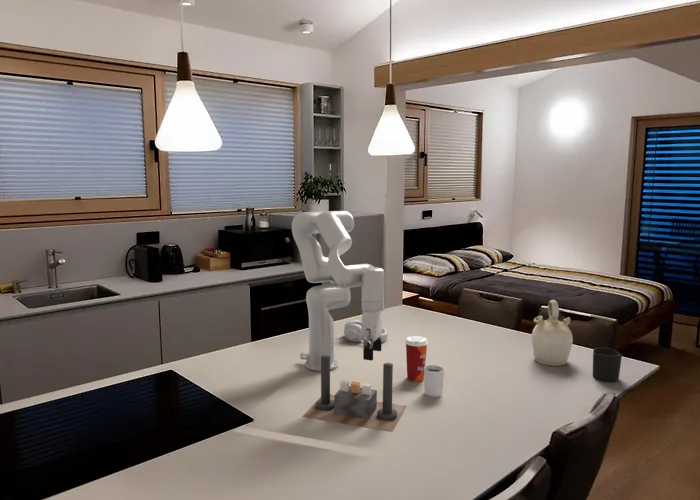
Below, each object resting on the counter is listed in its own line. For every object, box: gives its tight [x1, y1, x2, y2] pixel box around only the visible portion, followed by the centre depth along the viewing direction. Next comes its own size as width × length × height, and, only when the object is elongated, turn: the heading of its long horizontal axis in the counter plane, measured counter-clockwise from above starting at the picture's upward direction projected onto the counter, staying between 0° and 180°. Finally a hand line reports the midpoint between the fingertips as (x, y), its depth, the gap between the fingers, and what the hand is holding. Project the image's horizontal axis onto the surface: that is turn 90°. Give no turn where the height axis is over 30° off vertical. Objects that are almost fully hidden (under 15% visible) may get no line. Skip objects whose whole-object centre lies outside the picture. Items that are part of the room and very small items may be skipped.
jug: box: [531, 299, 574, 367], centre depth 212 cm, size 15×16×25 cm
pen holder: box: [592, 347, 623, 383], centre depth 195 cm, size 9×9×10 cm
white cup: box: [423, 364, 445, 398], centre depth 177 cm, size 7×7×10 cm
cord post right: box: [377, 362, 397, 421], centre depth 159 cm, size 6×6×16 cm
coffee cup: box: [404, 335, 429, 383], centre depth 193 cm, size 8×8×15 cm
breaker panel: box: [302, 385, 408, 433], centre depth 163 cm, size 28×18×8 cm, turn 71°
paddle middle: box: [350, 381, 361, 394], centre depth 162 cm, size 2×1×3 cm, turn 71°
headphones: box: [343, 319, 389, 344], centre depth 240 cm, size 18×8×20 cm
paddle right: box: [361, 382, 372, 395], centre depth 161 cm, size 2×1×3 cm, turn 71°
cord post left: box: [315, 355, 334, 411], centre depth 166 cm, size 6×6×16 cm
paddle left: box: [339, 379, 350, 392], centre depth 163 cm, size 2×1×3 cm, turn 71°
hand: (372, 355), depth 178 cm, fingers open, 9 cm apart
